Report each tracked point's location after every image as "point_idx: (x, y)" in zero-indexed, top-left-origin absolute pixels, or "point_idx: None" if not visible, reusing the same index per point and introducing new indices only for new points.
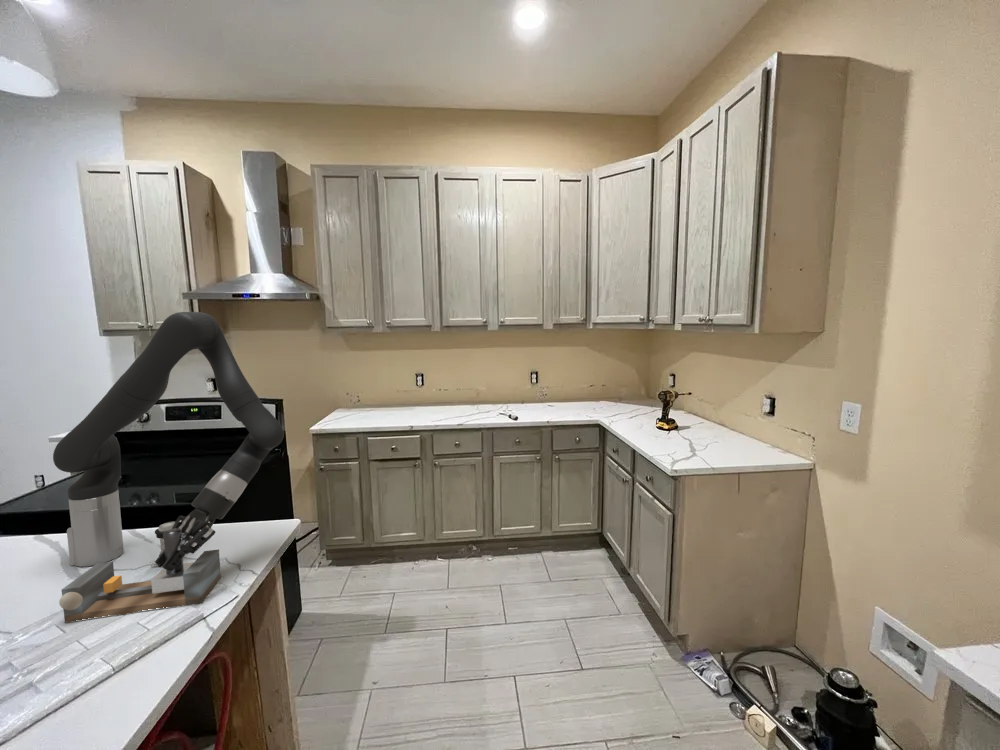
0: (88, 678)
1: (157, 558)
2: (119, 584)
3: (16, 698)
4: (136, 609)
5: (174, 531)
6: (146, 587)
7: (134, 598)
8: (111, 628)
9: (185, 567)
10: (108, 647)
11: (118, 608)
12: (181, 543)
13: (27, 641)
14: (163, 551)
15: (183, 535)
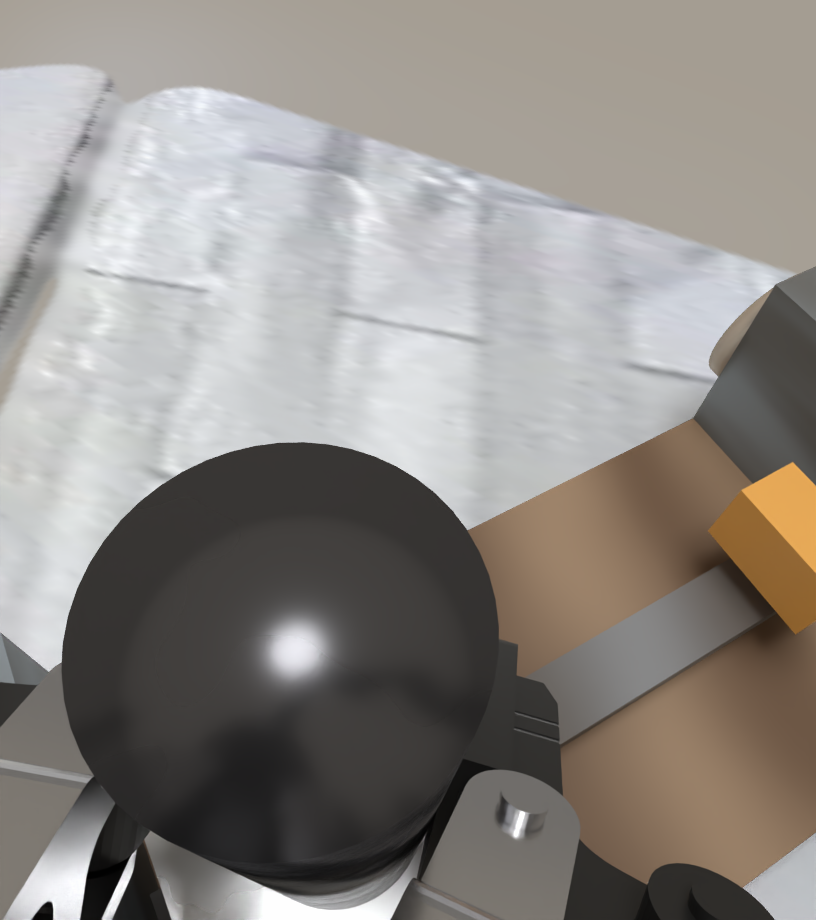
0: (129, 216)
1: (509, 655)
2: (775, 594)
3: (307, 131)
4: None
5: (187, 630)
6: (572, 702)
7: (550, 613)
8: (409, 435)
9: (272, 917)
10: (247, 338)
11: (523, 503)
12: (64, 724)
13: (720, 293)
14: (495, 708)
15: (27, 796)
